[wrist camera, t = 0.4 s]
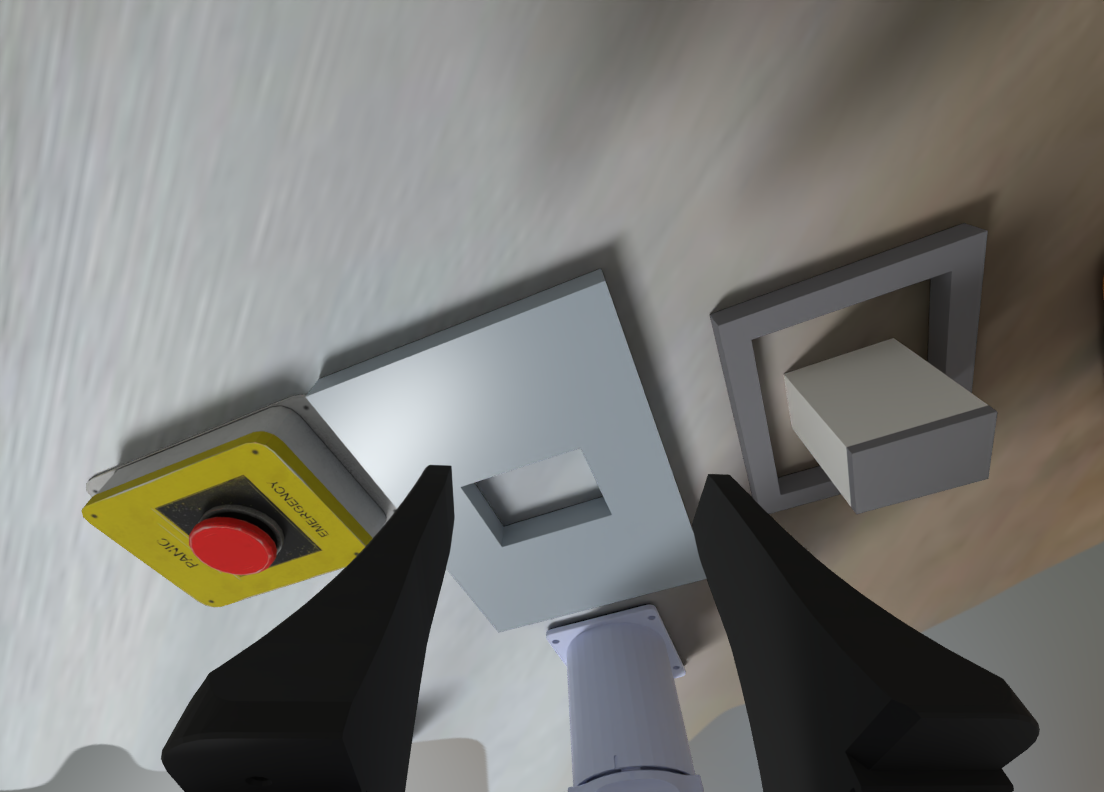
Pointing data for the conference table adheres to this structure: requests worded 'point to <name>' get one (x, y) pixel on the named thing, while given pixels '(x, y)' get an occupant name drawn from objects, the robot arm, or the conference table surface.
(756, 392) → the grey square frame
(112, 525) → the emergency button
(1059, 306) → the conference table surface
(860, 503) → the grey block
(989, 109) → the conference table surface
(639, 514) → the port plate
